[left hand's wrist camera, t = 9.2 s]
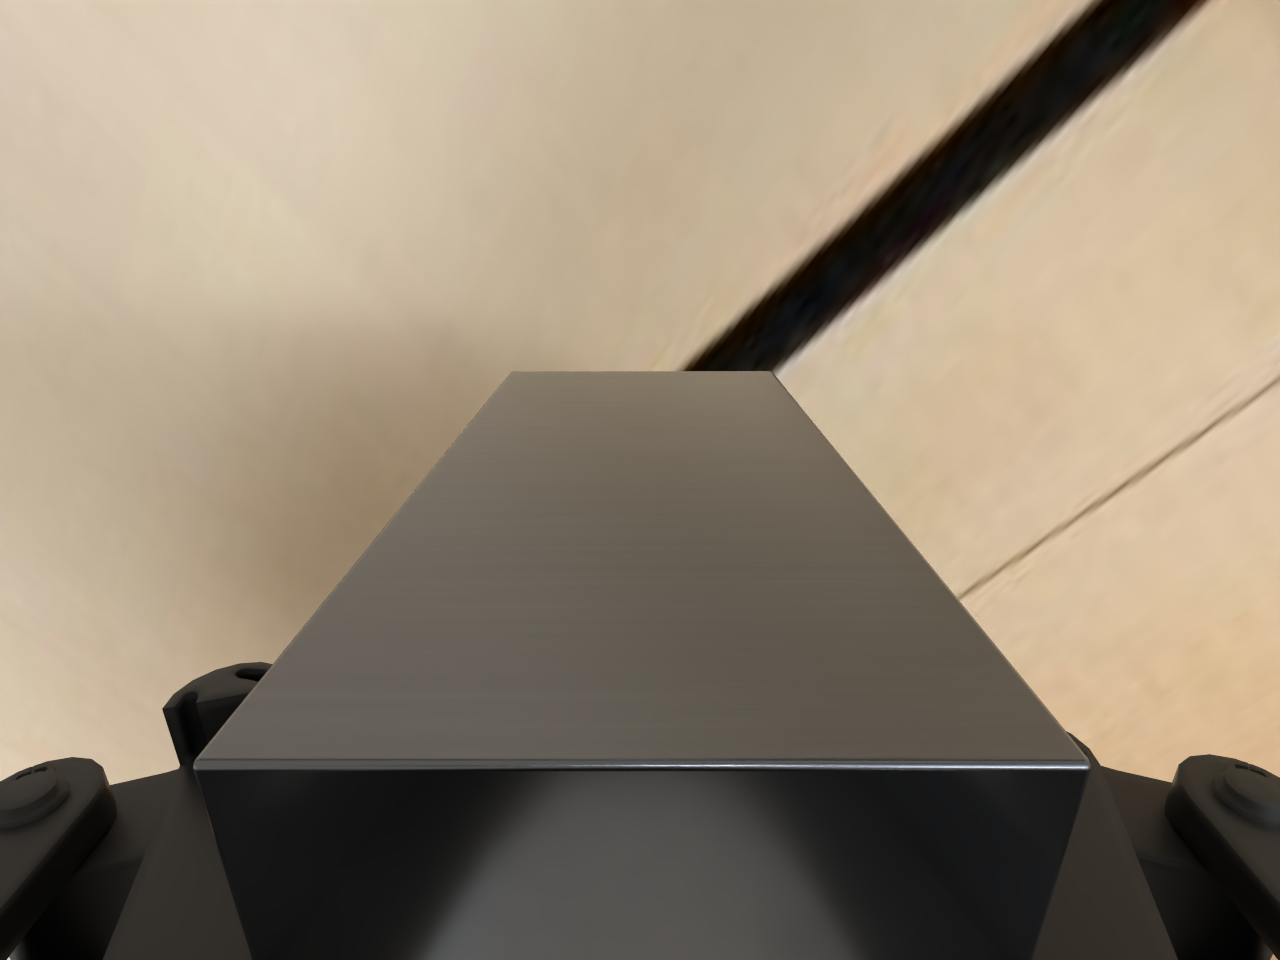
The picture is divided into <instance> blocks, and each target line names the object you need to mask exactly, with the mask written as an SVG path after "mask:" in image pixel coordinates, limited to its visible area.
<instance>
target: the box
mask: <svg viewBox="0 0 1280 960" xmlns="http://www.w3.org/2000/svg"><path fill="white" fill-rule="evenodd" d="M193 771H194V774H195V778H196V781H197V784H198V787H199V790H200V794H201V797H202V800H203V803H204V806H205V810H206V813H207V816H208V819H209V822H210V826H211V829H212V832H213V835H214V839H215V842H216V845H217V848H218V851H219V855H220V858H221V861H222V864H223V867H224V871H225V874H226V877H227V880H228V883H229V887H230V890H231V893H232V896H233V900H234V903H235V906H236V909H237V912H238V916H239V919H240V922H241V925H242V928H243V932H244V935H245V938H246V941H247V945H248V948H249V951H250V954H251V957H252V960H1032V959H1033V956H1034V953H1035V950H1036V946H1037V943H1038V940H1039V937H1040V933H1041V930H1042V927H1043V924H1044V920H1045V917H1046V914H1047V911H1048V907H1049V904H1050V901H1051V898H1052V894H1053V891H1054V888H1055V885H1056V882H1057V878H1058V875H1059V872H1060V869H1061V865H1062V862H1063V859H1064V856H1065V852H1066V849H1067V846H1068V843H1069V839H1070V836H1071V833H1072V830H1073V826H1074V823H1075V820H1076V817H1077V813H1078V810H1079V807H1080V804H1081V800H1082V797H1083V794H1084V791H1085V787H1086V784H1087V781H1088V778H1089V775H1090V771H1091V765H1090V762H1089V759H1088V758H1087V757H1086V755H1085V754H1084V753H1083V752H1082V751H1081V749H1080V748H1079V747H1078V746H1077V744H1076V743H1075V742H1074V741H1073V740H1072V738H1071V737H1070V736H1069V735H1068V733H1067V732H1066V731H1065V730H1064V729H1063V727H1062V726H1061V725H1060V724H1059V722H1058V721H1057V720H1056V719H1055V717H1054V716H1053V715H1052V714H1051V713H1050V711H1049V710H1048V709H1047V708H1046V706H1045V705H1044V704H1043V703H1042V702H1041V700H1040V699H1039V698H1038V697H1037V695H1036V694H1035V693H1034V692H1033V691H1032V689H1031V688H1030V687H1029V686H1028V684H1027V683H1026V682H1025V681H1024V680H1023V678H1022V677H1021V676H1020V675H1019V673H1018V672H1017V671H1016V670H1015V669H1014V667H1013V666H1012V665H1011V664H1010V662H1009V661H1008V660H1007V659H1006V658H1005V656H1004V655H1003V654H1002V653H1001V651H1000V650H999V649H998V648H997V647H996V645H995V644H994V643H993V642H992V640H991V639H990V638H989V637H988V636H987V634H986V633H985V632H984V631H983V629H982V628H981V627H980V626H979V625H978V623H977V622H976V621H975V620H974V618H973V617H972V616H971V615H970V614H969V612H968V611H967V610H966V609H965V607H964V606H963V605H962V604H961V603H960V601H959V600H958V599H957V598H956V596H955V595H954V594H953V593H952V592H951V590H950V589H949V588H948V587H947V585H946V584H945V583H944V582H943V581H942V579H941V578H940V577H939V576H938V574H937V573H936V572H935V571H934V569H933V568H932V567H931V566H930V565H929V563H928V562H927V561H926V560H925V558H924V557H923V556H922V555H921V554H920V552H919V551H918V550H917V549H916V547H915V546H914V545H913V544H912V543H911V541H910V540H909V539H908V538H907V536H906V535H905V534H904V533H903V532H902V530H901V529H900V528H899V527H898V525H897V524H896V523H895V522H894V521H893V519H892V518H891V517H890V516H889V514H888V513H887V512H886V511H885V510H884V508H883V507H882V506H881V505H880V503H879V502H878V501H877V500H876V499H875V497H874V496H873V495H872V494H871V492H870V491H869V490H868V489H867V488H866V486H865V485H864V484H863V483H862V481H861V480H860V479H859V478H858V477H857V475H856V474H855V473H854V472H853V470H852V469H851V468H850V467H849V466H848V464H847V463H846V462H845V461H844V459H843V458H842V457H841V456H840V455H839V453H838V452H837V451H836V450H835V448H834V447H833V446H832V445H831V444H830V442H829V441H828V440H827V439H826V437H825V436H824V435H823V434H822V433H821V431H820V430H819V429H818V428H817V426H816V425H815V424H814V423H813V422H812V420H811V419H810V418H809V417H808V415H807V414H806V413H805V412H804V410H803V409H802V408H801V407H800V406H799V404H798V403H797V402H796V401H795V399H794V398H793V397H792V396H791V395H790V393H789V392H788V391H787V390H786V388H785V387H784V386H783V385H782V384H781V382H780V381H779V380H778V379H777V377H776V376H775V375H774V374H773V373H772V372H771V371H677V372H511V373H510V374H509V376H508V377H507V378H506V379H505V380H504V382H503V383H502V384H501V385H500V387H499V388H498V389H497V390H496V392H495V393H494V394H493V395H492V396H491V398H490V399H489V400H488V401H487V403H486V404H485V405H484V406H483V407H482V409H481V410H480V411H479V412H478V414H477V415H476V416H475V417H474V418H473V420H472V421H471V422H470V423H469V425H468V426H467V427H466V428H465V430H464V431H463V432H462V433H461V434H460V436H459V437H458V438H457V439H456V441H455V442H454V443H453V444H452V445H451V447H450V448H449V449H448V450H447V452H446V453H445V454H444V455H443V456H442V458H441V459H440V460H439V461H438V463H437V464H436V465H435V466H434V468H433V469H432V470H431V471H430V472H429V474H428V475H427V476H426V477H425V479H424V480H423V481H422V482H421V483H420V485H419V486H418V487H417V488H416V490H415V491H414V492H413V493H412V494H411V496H410V497H409V498H408V499H407V501H406V502H405V503H404V504H403V506H402V507H401V508H400V509H399V510H398V512H397V513H396V514H395V515H394V517H393V518H392V519H391V520H390V521H389V523H388V524H387V525H386V526H385V528H384V529H383V530H382V531H381V532H380V534H379V535H378V536H377V537H376V539H375V540H374V541H373V542H372V544H371V545H370V546H369V547H368V548H367V550H366V551H365V552H364V553H363V555H362V556H361V557H360V558H359V559H358V561H357V562H356V563H355V564H354V566H353V567H352V568H351V569H350V570H349V572H348V573H347V574H346V575H345V577H344V578H343V579H342V580H341V582H340V583H339V584H338V585H337V586H336V588H335V589H334V590H333V591H332V593H331V594H330V595H329V596H328V597H327V599H326V600H325V601H324V602H323V604H322V605H321V606H320V607H319V608H318V610H317V611H316V612H315V613H314V615H313V616H312V617H311V618H310V620H309V621H308V622H307V623H306V624H305V626H304V627H303V628H302V629H301V631H300V632H299V633H298V634H297V635H296V637H295V638H294V639H293V640H292V642H291V643H290V644H289V645H288V646H287V648H286V649H285V650H284V651H283V653H282V654H281V655H280V656H279V658H278V659H277V660H276V661H275V662H274V664H273V665H272V666H271V667H270V669H269V670H268V671H267V672H266V673H265V675H264V676H263V677H262V678H261V680H260V681H259V682H258V683H257V684H256V686H255V687H254V688H253V689H252V691H251V692H250V693H249V694H248V696H247V697H246V698H245V699H244V700H243V702H242V703H241V704H240V705H239V707H238V708H237V709H236V710H235V711H234V713H233V714H232V715H231V716H230V718H229V719H228V720H227V721H226V722H225V724H224V725H223V726H222V727H221V729H220V730H219V731H218V732H217V734H216V735H215V736H214V737H213V738H212V740H211V741H210V742H209V743H208V745H207V746H206V747H205V748H204V749H203V751H202V752H201V753H200V754H199V756H198V757H197V758H196V759H195V762H194V766H193Z"/></svg>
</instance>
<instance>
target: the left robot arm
mask: <svg viewBox="0 0 1280 960" xmlns="http://www.w3.org/2000/svg"><path fill="white" fill-rule="evenodd" d="M272 665H273V664H268V663H263V662H256V663H241V664H236V665H232V666H229V667H225V668H221V669H217V670H214V671H212V672H210V673H208V674H206V675H204V676H201V677H199V678H197V679H195V680H193V681H191V682H190V683H189V684H187V685H186V686H184V687H183V688H182V689H180V690H179V691H177V692H176V693H175V694H174V695H173V696H172V697H171V698H170V700H169V701H168V702H167V703H166V705H165V706H164V707H163V709H162V710H163V713H164V716H165V719H166V722H167V725H168V728H169V732H170V735H171V738H172V741H173V744H174V747H175V750H176V753H177V757H178V760H179V763H180V767H179V769H177V770H173V771H170V772H167V773H162V774H158V775H153V776H149V777H145V778H140V779H136V780H131V781H127V782H123V783H118V784H114V785H109V783H108V780H107V777H106V775H105V772H104V769H103V767H102V766H100V765H99V764H98V763H96V762H95V761H94V760H92V759H86V758H76V757H70V758H65V759H59V760H53V761H47V762H44V763H41V764H38V765H35V766H33V767H29V768H27V769H24V770H22V771H19V772H17V773H15V774H14V775H12V776H10V777H8V778H6V779H4V780H2V781H1V782H0V960H7V958H8V957H10V959H11V960H252V957H251V954H250V951H249V948H248V945H247V941H246V938H245V935H244V932H243V928H242V925H241V922H240V919H239V916H238V912H237V909H236V906H235V903H234V900H233V896H232V893H231V890H230V887H229V883H228V880H227V877H226V874H225V871H224V867H223V864H222V861H221V858H220V855H219V851H218V848H217V845H216V842H215V839H214V835H213V832H212V829H211V826H210V822H209V819H208V816H207V813H206V810H205V806H204V803H203V800H202V797H201V794H200V790H199V787H198V784H197V781H196V778H195V774H194V771H193V766H194V762H195V759H196V758H197V757H198V756H199V754H200V753H201V752H202V751H203V749H204V748H205V747H206V746H207V745H208V743H209V742H210V741H211V740H212V738H213V737H214V736H215V735H216V734H217V732H218V731H219V730H220V729H221V727H222V726H223V725H224V724H225V722H226V721H227V720H228V719H229V718H230V716H231V715H232V714H233V713H234V711H235V710H236V709H237V708H238V707H239V705H240V704H241V703H242V702H243V700H244V699H245V698H246V697H247V696H248V694H249V693H250V692H251V691H252V689H253V688H254V687H255V686H256V684H257V683H258V682H259V681H260V680H261V678H262V677H263V676H264V675H265V673H266V672H267V671H268V670H269V669H270V667H271V666H272ZM1066 732H1067V731H1066ZM1067 733H1068V732H1067ZM1068 735H1069V736H1070V737H1071V738H1072V740H1073V741H1074V742H1075V743H1076V744H1077V746H1078V747H1079V748H1080V749H1081V751H1082V752H1083V753H1084V754H1085V755H1086V757H1087V758H1088V759H1089V762H1090V765H1091V771H1090V775H1089V778H1088V781H1087V784H1086V787H1085V791H1084V794H1083V797H1082V800H1081V804H1080V807H1079V810H1078V813H1077V817H1076V820H1075V823H1074V826H1073V830H1072V833H1071V836H1070V839H1069V843H1068V846H1067V849H1066V852H1065V856H1064V859H1063V862H1062V865H1061V869H1060V872H1059V875H1058V878H1057V882H1056V885H1055V888H1054V891H1053V894H1052V898H1051V901H1050V904H1049V907H1048V911H1047V914H1046V917H1045V920H1044V924H1043V927H1042V930H1041V933H1040V937H1039V940H1038V943H1037V946H1036V950H1035V953H1034V956H1033V959H1032V960H1270V959H1271V957H1272V955H1273V954H1274V955H1275V956H1276V958H1277V959H1278V960H1280V778H1279V777H1277V776H1275V775H1274V774H1272V773H1270V772H1268V771H1266V770H1264V769H1262V768H1260V767H1257V766H1255V765H1252V764H1248V763H1246V762H1243V761H1240V760H1237V759H1233V758H1228V757H1222V756H1216V755H1210V754H1209V755H1199V756H1190V757H1188V758H1187V759H1186V760H1184V761H1183V762H1182V763H1180V764H1179V766H1178V768H1177V771H1176V774H1175V776H1174V779H1173V782H1172V783H1171V782H1166V781H1162V780H1157V779H1153V778H1148V777H1144V776H1140V775H1135V774H1131V773H1126V772H1122V771H1117V770H1114V769H1110V768H1107V767H1103V766H1100V764H1099V762H1098V761H1097V759H1096V758H1095V756H1094V755H1093V753H1092V752H1091V751H1090V749H1089V748H1088V747H1087V746H1085V745H1084V744H1083V743H1082V742H1081V741H1079V740H1078V739H1077V738H1076V737H1074V736H1073V735H1072V734H1070V733H1068Z"/></svg>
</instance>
